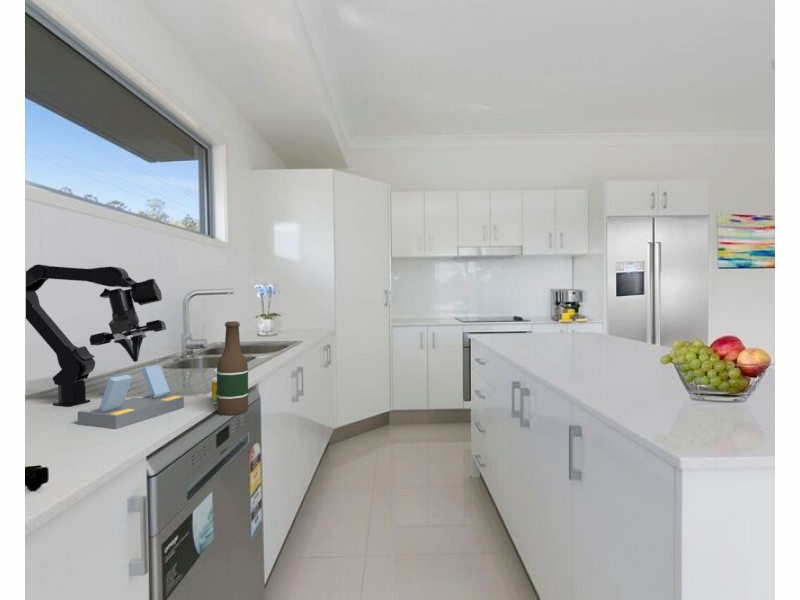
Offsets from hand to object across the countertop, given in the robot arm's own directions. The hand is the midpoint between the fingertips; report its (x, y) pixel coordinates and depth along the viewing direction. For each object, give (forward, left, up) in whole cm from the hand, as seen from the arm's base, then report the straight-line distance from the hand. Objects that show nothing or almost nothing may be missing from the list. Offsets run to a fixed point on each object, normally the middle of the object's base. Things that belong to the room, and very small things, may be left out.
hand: (135, 361), depth 134 cm
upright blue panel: (+13, -19, -8) cm, 24 cm away
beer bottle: (+34, -1, -12) cm, 36 cm away
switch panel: (+12, -12, -12) cm, 20 cm away
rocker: (+13, -4, -8) cm, 16 cm away
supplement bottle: (+24, +7, -12) cm, 28 cm away
